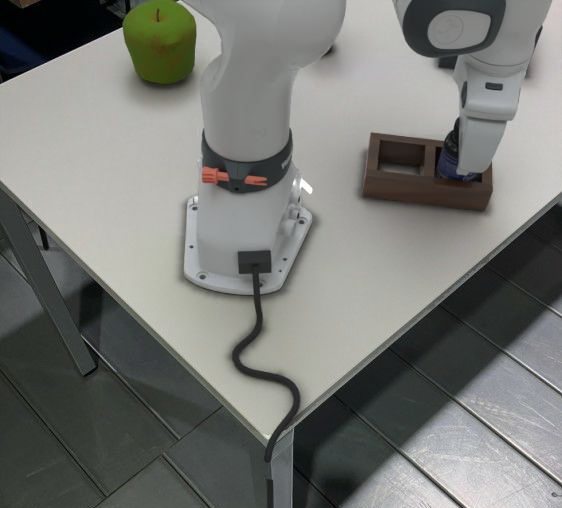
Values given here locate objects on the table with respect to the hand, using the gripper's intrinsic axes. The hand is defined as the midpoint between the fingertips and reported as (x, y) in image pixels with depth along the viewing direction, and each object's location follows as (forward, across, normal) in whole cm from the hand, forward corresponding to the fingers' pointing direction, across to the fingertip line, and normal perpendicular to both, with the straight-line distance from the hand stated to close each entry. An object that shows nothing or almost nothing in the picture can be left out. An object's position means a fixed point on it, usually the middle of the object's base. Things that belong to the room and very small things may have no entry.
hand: (461, 155), depth 92 cm
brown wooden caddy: (+6, 0, -4) cm, 7 cm away
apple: (+6, -20, -51) cm, 55 cm away
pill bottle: (+6, 0, 0) cm, 6 cm away
